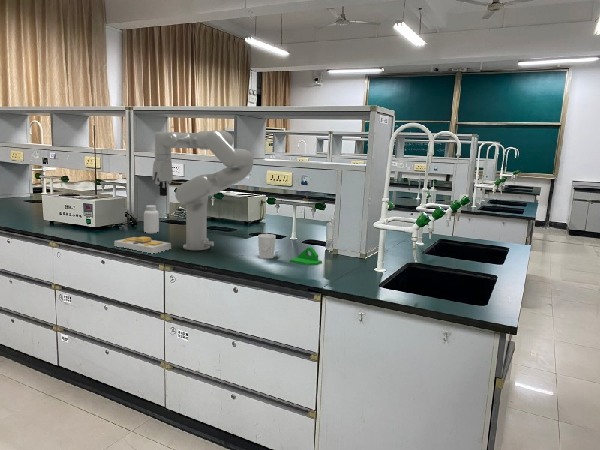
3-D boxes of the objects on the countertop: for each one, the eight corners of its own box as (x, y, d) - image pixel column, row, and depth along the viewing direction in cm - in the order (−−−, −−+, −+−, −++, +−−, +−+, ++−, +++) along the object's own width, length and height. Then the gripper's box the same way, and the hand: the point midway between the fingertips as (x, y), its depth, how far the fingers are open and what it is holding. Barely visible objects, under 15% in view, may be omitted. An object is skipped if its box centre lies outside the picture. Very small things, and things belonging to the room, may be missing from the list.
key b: (151, 243, 214) (151, 237, 213) (143, 245, 209) (143, 239, 209) (143, 242, 216) (143, 236, 216) (135, 243, 212) (135, 238, 211)
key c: (140, 244, 217) (140, 238, 217) (132, 246, 213) (132, 240, 212) (133, 242, 219) (132, 237, 219) (124, 244, 215) (124, 239, 214)
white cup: (255, 255, 208) (256, 234, 206) (272, 254, 211) (272, 233, 209) (260, 259, 201) (260, 237, 199) (277, 258, 203) (277, 237, 202)
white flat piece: (170, 249, 213) (170, 241, 212) (152, 254, 202) (152, 246, 202) (134, 242, 223) (133, 235, 223) (114, 247, 213) (114, 239, 212)
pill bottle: (147, 234, 245) (146, 207, 243) (141, 231, 251) (141, 205, 249) (161, 232, 250) (160, 206, 248) (155, 230, 256) (155, 204, 254)
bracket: (289, 262, 198) (290, 247, 197) (299, 259, 205) (299, 244, 204) (313, 267, 192) (313, 251, 191) (322, 263, 199) (322, 248, 197)
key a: (162, 248, 211) (162, 242, 211) (154, 250, 207) (154, 244, 206) (154, 246, 213) (154, 241, 213) (146, 248, 209) (146, 242, 208)
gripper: (167, 157, 225) (167, 193, 229) (146, 157, 212) (146, 196, 215) (179, 158, 223) (179, 195, 226) (158, 158, 209) (159, 197, 212)
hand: (163, 195), depth 220 cm, fingers closed
